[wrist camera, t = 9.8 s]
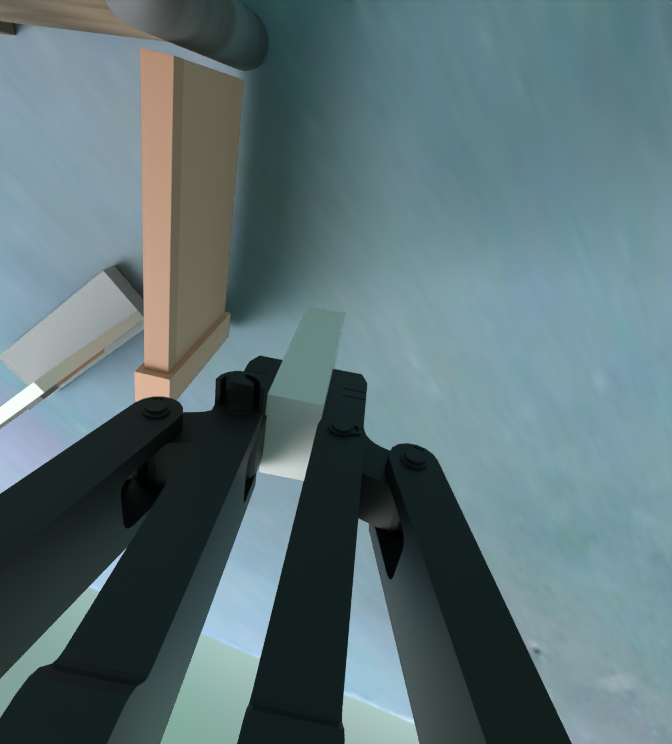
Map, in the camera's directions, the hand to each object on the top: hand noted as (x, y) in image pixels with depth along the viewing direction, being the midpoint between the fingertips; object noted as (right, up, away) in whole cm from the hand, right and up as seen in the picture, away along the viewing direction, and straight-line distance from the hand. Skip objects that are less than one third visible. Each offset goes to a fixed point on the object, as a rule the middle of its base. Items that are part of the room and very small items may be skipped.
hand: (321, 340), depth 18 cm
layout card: (-16, +1, +12) cm, 20 cm away
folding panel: (-5, +7, +7) cm, 11 cm away
